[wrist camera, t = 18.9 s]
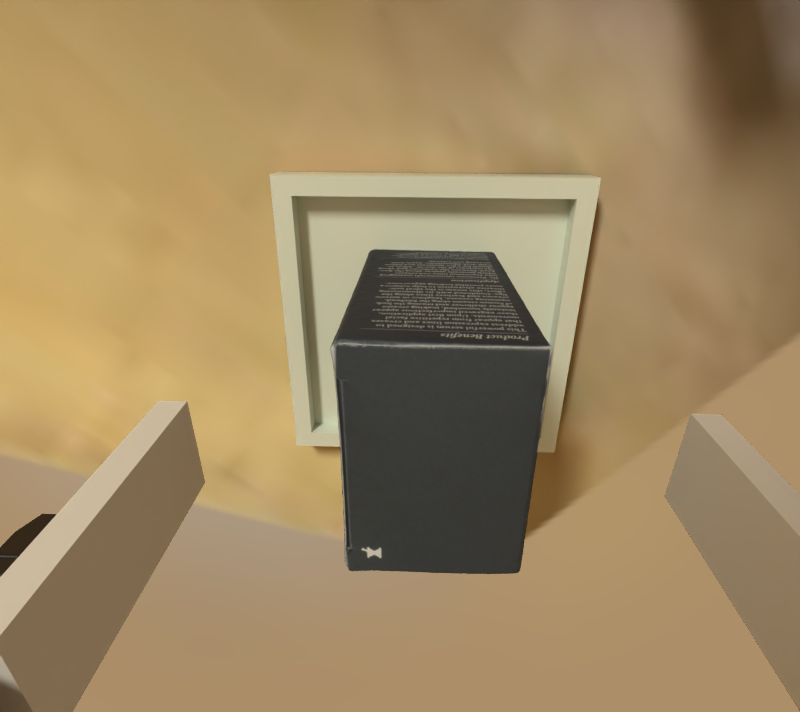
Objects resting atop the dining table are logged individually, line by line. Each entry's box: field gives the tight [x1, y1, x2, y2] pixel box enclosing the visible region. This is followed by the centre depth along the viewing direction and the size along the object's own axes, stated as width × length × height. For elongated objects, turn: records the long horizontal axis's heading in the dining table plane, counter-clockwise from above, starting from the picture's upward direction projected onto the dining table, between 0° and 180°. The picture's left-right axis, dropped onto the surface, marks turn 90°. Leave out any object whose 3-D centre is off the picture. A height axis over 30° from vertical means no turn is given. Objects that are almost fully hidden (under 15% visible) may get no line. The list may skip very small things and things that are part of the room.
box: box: [330, 249, 552, 574], centre depth 18 cm, size 8×6×11 cm
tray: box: [270, 172, 601, 453], centre depth 23 cm, size 13×13×1 cm
